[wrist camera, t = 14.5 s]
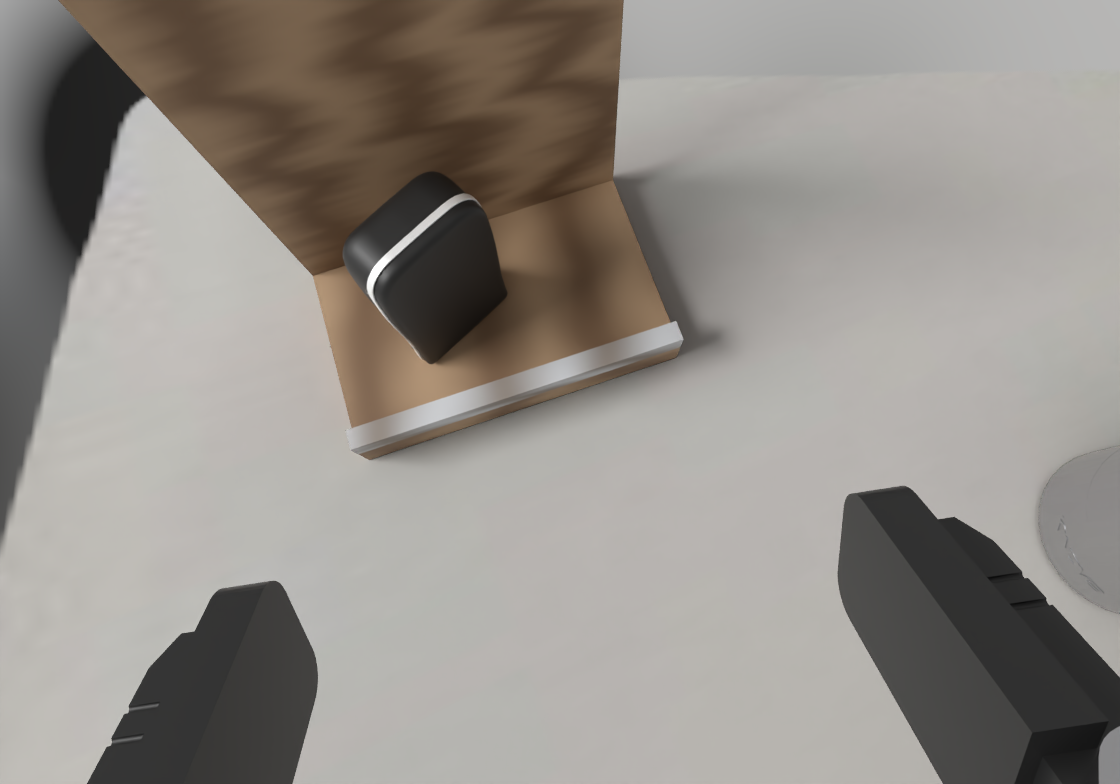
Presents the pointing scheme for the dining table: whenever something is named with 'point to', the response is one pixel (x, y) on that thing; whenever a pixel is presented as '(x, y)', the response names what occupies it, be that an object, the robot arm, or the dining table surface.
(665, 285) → the dining table surface
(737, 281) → the dining table surface
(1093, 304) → the dining table surface
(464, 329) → the battery charger
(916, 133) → the dining table surface
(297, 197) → the shelf
